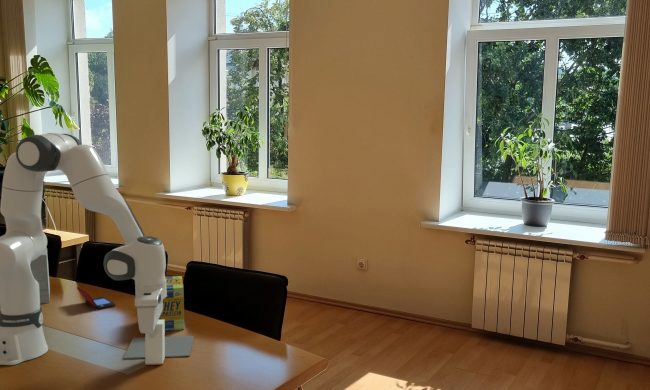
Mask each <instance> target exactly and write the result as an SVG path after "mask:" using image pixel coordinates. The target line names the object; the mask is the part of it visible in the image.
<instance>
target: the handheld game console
mask: <svg viewBox="0 0 650 390" xmlns="http://www.w3.org/2000/svg"><path fill="white" fill-rule="evenodd" d="M76 289H77V290H78V292H79V293H80V295H81V296H82V297H83V298H84V299H85V303H86V304H88V305H89V306H91V305H92V306H91V307H92V308H93V309H95V310H96V311H99V310H101V311H102V310H105V309H109V308H114V307H116V303H114V302H113V301H111V300H109V299H108V298H106V297H104V296H101V297H97V298H92V297H91V295H90V294H89V293H88V292H86V291H85V290H83V289H81V288H80V287H78V286H76Z"/></svg>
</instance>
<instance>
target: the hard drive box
mask: <svg viewBox="0 0 650 390" xmlns="http://www.w3.org/2000/svg"><path fill="white" fill-rule="evenodd" d="M47 246H48V245H47ZM47 246H46V249H45V250H44V252H43V253H42V254H41V255H40V256H39V257H38V258H37V259H35V260H33V261H31V263H30V268H31V272H32V275H33V277H34V279H35V280H36V281H37V282H38V283H39V293H40V305H43V304H49V303H50V298H51V297H50V295H51V293H50V292H51V289H50V275H49V274H50V273H49V260H48V248H47Z"/></svg>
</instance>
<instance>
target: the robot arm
mask: <svg viewBox="0 0 650 390" xmlns="http://www.w3.org/2000/svg"><path fill="white" fill-rule="evenodd" d="M4 168H5V169H4V173H3V176H2V177H3V178H2V185H1V186H2V187H1V196H0V197H1V198H0V214H1V215H2V216H3V217H4V222H5V227H6V231H5V234H2V235H1V236H0V365H1V366H2V365H4V366H15V365H18V364H21V363H22V362H25V361H29V360H34V359H36V358H39V357H41V356H43V355H44V354H46V353H47V352H48V351H49V345H48V343H47V341H46V337H45V333H44V329H43V328H44V327H43V324H44V323H43V322H44V316H43V315H44V314H43V308H42V307H43V306H41V304H40V293H39V283H38V282H37V281H36V280H35V279H34V277H33V275H32V272H31V268H30V263H31V261H33V260H35V259H37V258H38V257H39V256H40V255H41V254H42V253H43V252H44V250H45V249H46V246H48V238H47V237H48V236H47V235H46V234H45V232H44V230H43V221H42V203H43V191H44V179H45V176H46V174H47V173H48V172H55V171H60V172H62V173H64V175H65V177H66V178H67V180H68V183H69V186H70V187H71V190H72V193H73V195H74V198H75V199H76V201H77V203H78V204H79V205H80V206H81V207H82V208H83V209H86V210H88V211H91V212H96V213H99V214H102V215H105V216H107V217H109V218H110V219H111V220H112V221H113V222H114V224H115V226H116V227H117V230H118V231H119V233H120V234H121V236H122V238H123V240H124V243H125V244H124V245H121V246H119V247H116V248H114V249H112V250H110V251H108V252H107V253H106V254H105V255H104V258H103V267H104V271H105V274H107V276H108V277H109V278H110V279H112V280H114V281H127V280H131V279H132V280H134V286H135V287H134V289H135V293H134V294H135V295H134V296H135V297H134V307H136V310H137V311H136V312H137V314H136V315H137V323H138V330H139V332H140V333H141V334H145V333H149V338H155V336H156V328H157V322H158V320H159V317H160V315H161V313H162V311H163V299H164V298H166V296H167V288H166V277H167V276H166V274H165V273H166V267H167V264H166V263H167V262H166V261H167V260H166V252H165V251H166V250H165V246H164V244H163V241H162V240H161V239H159V238H157V237H155V236H152V235H151V236H150V235H149V236H147V235H146V234H145V232H144V230H143V228H142V227H141V224H140V222H139V221H138V220H137V218H136V216H135V213H134V211H133V209H131V206H130V205H129V202H128V201H127V200H126V199H125V197H124V196H123V195H122V194H121V193H120V192H119V191H118V189H117V188H116V186H115V184H114V183H113V181H112V179H111V177H110V175H109V172H108V170H107V168H106V166H105V164H104V162H103V160H102V158H101V157H100V155H99V153H98V151H97V150H96V149H95V148H94V147H93V146H91V145H89V144H83V143H82V142H81V140H79V138H77V137H76V136H74V135H72V134H68V133H55V132H54V133H53V132H52V133H48V132H47V133H43V134H32V135H28V136H25V137H23V138H22V139H20V141H19V142H18V143H17V146H16V148H15V152H12V153H11V154H10V156H9V157H8V159H7V161H6V165H5V167H4Z"/></svg>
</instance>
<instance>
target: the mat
mask: <svg viewBox="0 0 650 390" xmlns="http://www.w3.org/2000/svg"><path fill="white" fill-rule="evenodd" d="M194 338H195V335H184V336H183V335H182V336H181V335H179V336H177V335H176V336H165V357H171V358H181V357H180V356H190V355H191V352H192V348H191V347H193V343H194ZM190 357H191V356H190ZM142 358H145V337H132V339H131V340H130V343H129V345H128V348H127V349H126V351H125V353H124V356H123V360H139V359H142Z"/></svg>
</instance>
